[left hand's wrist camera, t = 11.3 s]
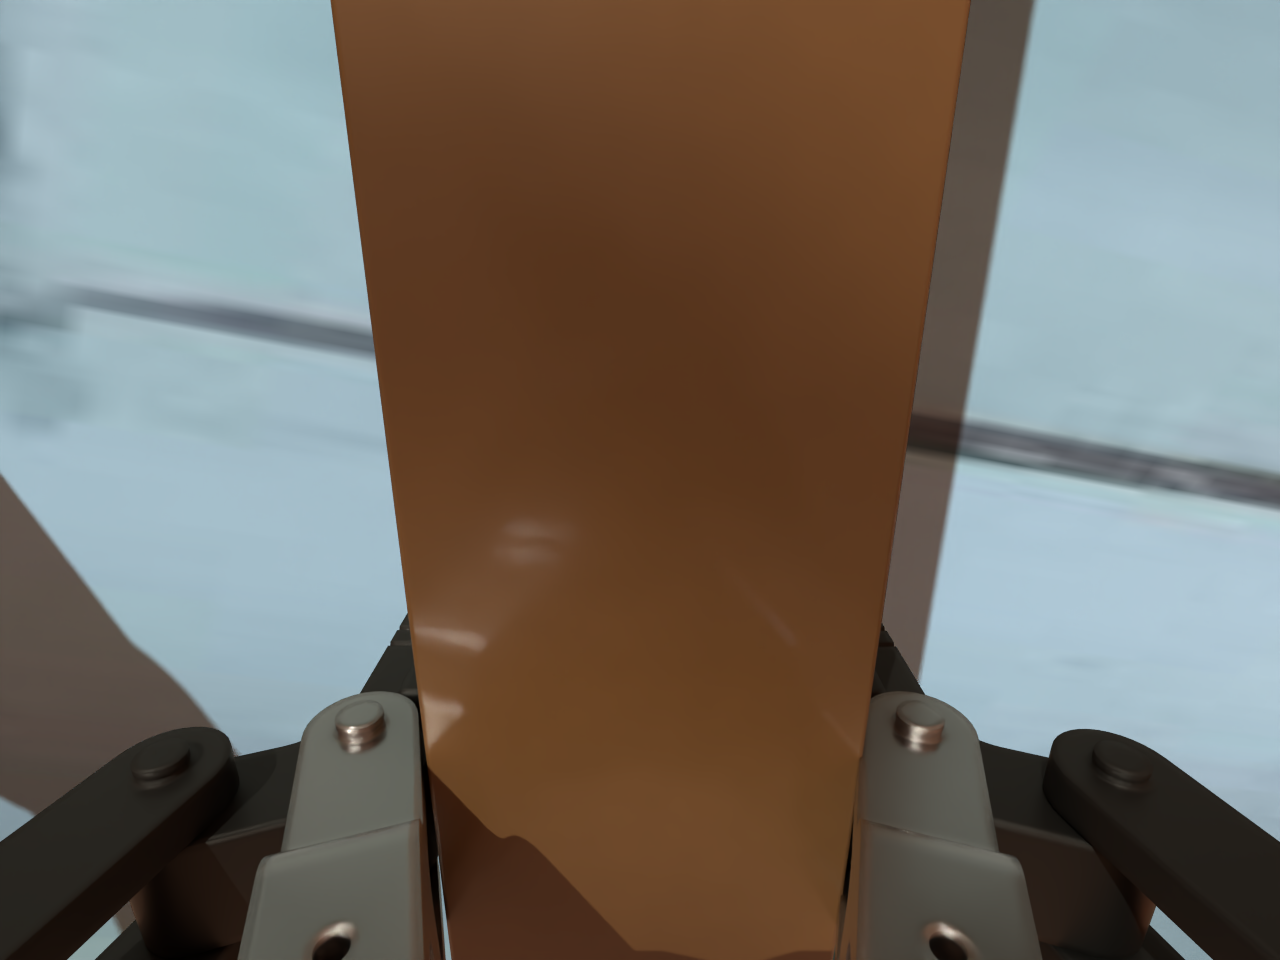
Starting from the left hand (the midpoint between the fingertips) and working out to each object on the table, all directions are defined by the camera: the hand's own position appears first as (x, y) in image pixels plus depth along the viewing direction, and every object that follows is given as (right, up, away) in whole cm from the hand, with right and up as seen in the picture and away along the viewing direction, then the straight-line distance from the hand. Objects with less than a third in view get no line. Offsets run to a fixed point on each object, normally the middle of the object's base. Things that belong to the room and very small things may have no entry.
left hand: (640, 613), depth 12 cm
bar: (0, +33, -10) cm, 35 cm away
